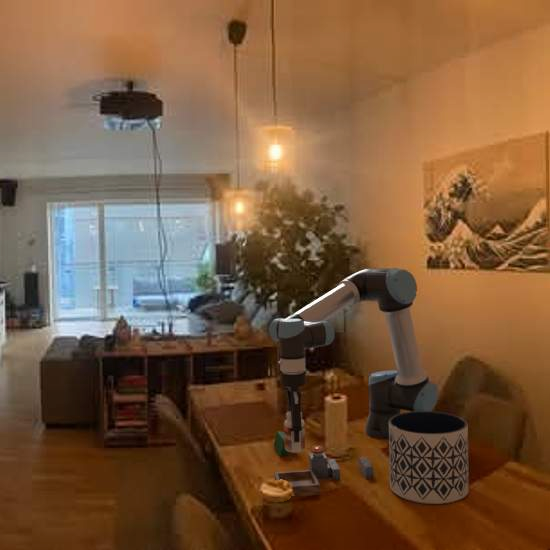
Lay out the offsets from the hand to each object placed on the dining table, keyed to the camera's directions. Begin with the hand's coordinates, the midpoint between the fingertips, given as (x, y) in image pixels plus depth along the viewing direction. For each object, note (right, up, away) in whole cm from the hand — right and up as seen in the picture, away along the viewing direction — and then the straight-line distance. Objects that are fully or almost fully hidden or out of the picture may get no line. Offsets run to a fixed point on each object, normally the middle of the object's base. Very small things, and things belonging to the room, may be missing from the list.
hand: (295, 448), depth 190 cm
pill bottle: (0, -1, 0) cm, 1 cm away
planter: (+39, -11, -3) cm, 41 cm away
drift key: (+8, -9, +9) cm, 15 cm away
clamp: (-2, -11, +34) cm, 35 cm away
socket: (+15, -11, +10) cm, 21 cm away
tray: (0, -12, +1) cm, 12 cm away
